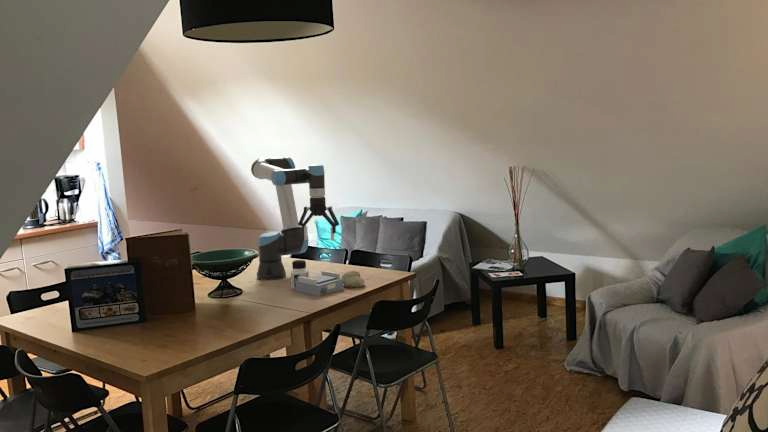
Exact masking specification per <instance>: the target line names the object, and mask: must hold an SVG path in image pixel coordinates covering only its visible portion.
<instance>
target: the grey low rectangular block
mask: <svg viewBox="0 0 768 432" xmlns="http://www.w3.org/2000/svg"><path fill="white" fill-rule="evenodd" d="M320 271H321V272H320V274H317V275H313V276H309V277H308V278H306V277H300V276H299V277H298V281H295V284H296V288H295V292H298V293H302V294H307V295H312V296H317V297H320V296H323V295H326V294H331V293H334V291H335V292H337V291H341V290H344V284H343V279H341V275H340V272H339V273H338V272H334V271H333V272H332V271H329V270H320Z"/></svg>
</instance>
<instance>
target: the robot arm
mask: <svg viewBox="0 0 768 432" xmlns="http://www.w3.org/2000/svg"><path fill="white" fill-rule="evenodd" d="M324 168H325V167H324V165H323V164H310V165H308V167H307V166H306V167H302V168H300V167H299V168H296V164H295V162H294V160H293V158H292V157H290V156H289V155H287V156H285V155H281V156H266V157H265V156H264V157H263V156H262V157H261V158H258V159H256V160H255V161H253V163H252V164H251V168H250V172H251V174H252V176H254V178H256V179H259V180H268V181H271V183H272V185H274V186H275V191H276V195H277V201H278V207H279V212H280V219H281V223H282V229H281V230H280V231H279V230H276V231H275V230H274V231H269V232H265V233H261V234H260V235H258V237H257V246H258V261H259V264H258V267H257V272H256V278H257V279H258V280H261V281H269V280H271V281H272V280H278V279H283V278H285V277H286V276H287V273H286V272H287V271H286V269H285V266H284V264H283V260H282V257H283V256H289V255H299V254H303V253H306V251H307V249H308V248H309V234H308V233H309V232H308V225H307V224H308V223H309V222H310V221H311V219H312V217H317V216H318V217H323V218H324V219H325V220H326V222H328V224H329V225H330V226H331V227H330V241H331V242H332V241H334V240H335V234H336V233H337V232H336V231H337V229H336V227H337V226H339V225H340V222H339V220H338V218H337V216H336V214H335V212H334V211H333V207H332V206H326V197H325V196H326V188H325V187H326V186H325V185H326V184H325V183H326V181H325V174H326V173H325V169H324ZM300 184H309V185H308V188H309V192H308V193H309V206H303V212H302V214H301V217H300V219H299V218H298V213H297V212H298V211H297V206H296V202H295V198H294V191H293V185H300ZM309 211H310V213H309V215H308V216H307V214H308V212H309ZM326 211H327V212H328V213H329V214H328V213H327V212H326ZM329 215H330V216H329ZM306 216H307V217H306ZM305 218H306V219H305Z"/></svg>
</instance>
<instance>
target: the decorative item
mask: <svg viewBox="0 0 768 432" xmlns="http://www.w3.org/2000/svg"><path fill="white" fill-rule="evenodd" d="M360 273H361V272H360V271H356V270H350V271H346V272H344V273H343V274H342V275H341V276H340V278H341V279H343V287H345V288H349V289H352V288H361V287H362V286H363V287H364V284H365V279H364V278H363V277H361V274H360Z"/></svg>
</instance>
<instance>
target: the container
mask: <svg viewBox="0 0 768 432" xmlns="http://www.w3.org/2000/svg"><path fill="white" fill-rule="evenodd" d="M291 264H292V271H291V272H290V283H291V284H290V285H291V289H296V284H295V281H298V277H299V276H300V277H306V278H308V277H310V276H309V269H307V261H306V260H303V259H296V260H294V261H293V260H292V263H291Z"/></svg>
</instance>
